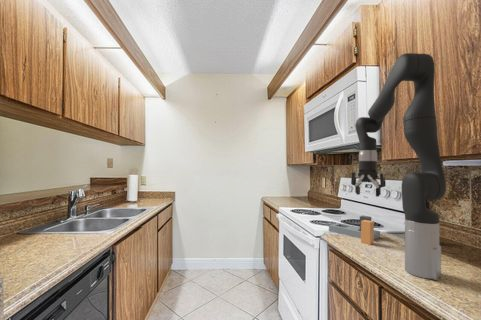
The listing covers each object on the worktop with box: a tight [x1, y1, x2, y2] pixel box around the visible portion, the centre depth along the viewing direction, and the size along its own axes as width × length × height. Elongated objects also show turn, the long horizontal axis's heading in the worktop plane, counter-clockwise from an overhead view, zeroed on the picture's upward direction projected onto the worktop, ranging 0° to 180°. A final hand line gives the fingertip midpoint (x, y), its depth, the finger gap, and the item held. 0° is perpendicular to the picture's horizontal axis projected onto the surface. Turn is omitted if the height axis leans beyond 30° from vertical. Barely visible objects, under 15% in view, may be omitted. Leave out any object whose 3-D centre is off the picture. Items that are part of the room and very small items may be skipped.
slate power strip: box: [328, 215, 381, 241], centre depth 127 cm, size 22×10×10 cm, turn 40°
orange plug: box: [360, 220, 375, 246], centre depth 113 cm, size 4×4×10 cm
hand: (367, 195), depth 113 cm, fingers open, 8 cm apart
